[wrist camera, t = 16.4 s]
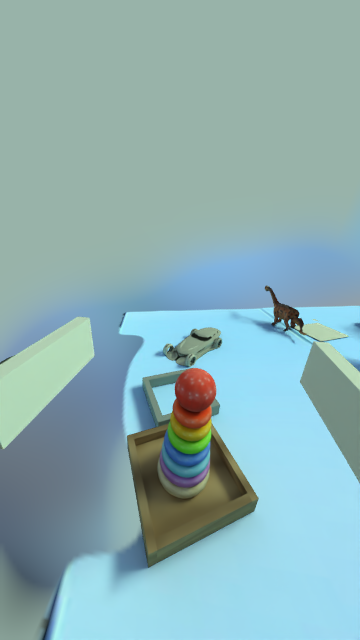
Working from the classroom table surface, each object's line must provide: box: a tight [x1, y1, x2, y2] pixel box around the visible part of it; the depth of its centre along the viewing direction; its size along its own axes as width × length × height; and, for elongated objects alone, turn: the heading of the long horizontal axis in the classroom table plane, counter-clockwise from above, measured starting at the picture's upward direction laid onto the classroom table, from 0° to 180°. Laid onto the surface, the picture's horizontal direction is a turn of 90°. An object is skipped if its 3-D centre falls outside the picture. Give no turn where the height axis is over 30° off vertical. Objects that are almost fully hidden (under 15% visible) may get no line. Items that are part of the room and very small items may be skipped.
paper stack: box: [295, 319, 348, 341], centre depth 93 cm, size 23×25×1 cm
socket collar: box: [143, 368, 220, 427], centre depth 47 cm, size 13×13×2 cm
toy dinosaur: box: [265, 286, 307, 335], centre depth 88 cm, size 8×30×15 cm, turn 20°
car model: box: [163, 328, 222, 367], centre depth 69 cm, size 11×24×5 cm, turn 141°
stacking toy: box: [157, 368, 216, 499], centre depth 28 cm, size 8×8×19 cm
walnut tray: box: [127, 423, 259, 568], centre depth 32 cm, size 15×15×3 cm
